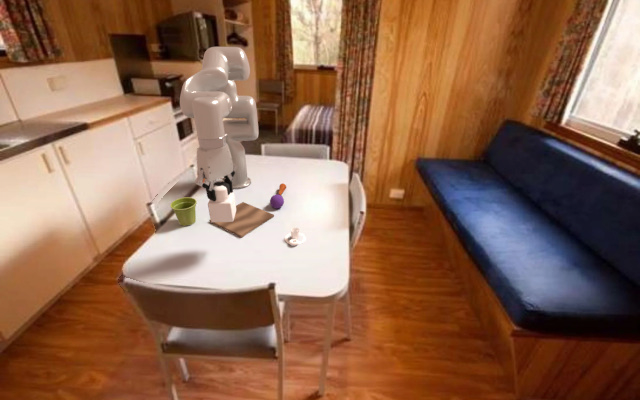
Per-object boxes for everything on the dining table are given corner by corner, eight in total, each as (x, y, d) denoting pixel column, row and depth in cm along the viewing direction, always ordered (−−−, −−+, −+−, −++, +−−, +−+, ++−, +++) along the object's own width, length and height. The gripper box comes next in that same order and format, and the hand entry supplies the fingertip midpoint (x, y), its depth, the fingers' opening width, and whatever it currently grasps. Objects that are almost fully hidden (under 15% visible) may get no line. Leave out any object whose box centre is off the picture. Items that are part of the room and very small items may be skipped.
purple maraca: (290, 182, 147) (283, 199, 129) (287, 193, 150) (281, 212, 131) (277, 179, 147) (269, 196, 129) (275, 190, 149) (267, 209, 131)
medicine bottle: (215, 210, 105) (210, 179, 99) (236, 210, 106) (232, 179, 100) (210, 222, 99) (204, 190, 93) (233, 222, 100) (228, 189, 94)
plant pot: (205, 218, 125) (201, 199, 121) (189, 230, 117) (185, 211, 113) (186, 214, 127) (182, 195, 123) (169, 225, 120) (164, 206, 115)
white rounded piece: (296, 249, 109) (296, 240, 107) (278, 242, 113) (278, 233, 111) (310, 237, 116) (310, 228, 114) (293, 230, 119) (292, 221, 117)
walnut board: (209, 222, 123) (209, 219, 122) (243, 203, 136) (242, 201, 135) (241, 237, 114) (241, 235, 113) (274, 216, 127) (273, 214, 127)
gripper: (226, 131, 97) (233, 182, 107) (177, 147, 85) (190, 203, 94) (243, 136, 94) (248, 188, 103) (195, 153, 81) (206, 210, 91)
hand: (220, 195), depth 98 cm, fingers closed on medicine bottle, 6 cm apart
